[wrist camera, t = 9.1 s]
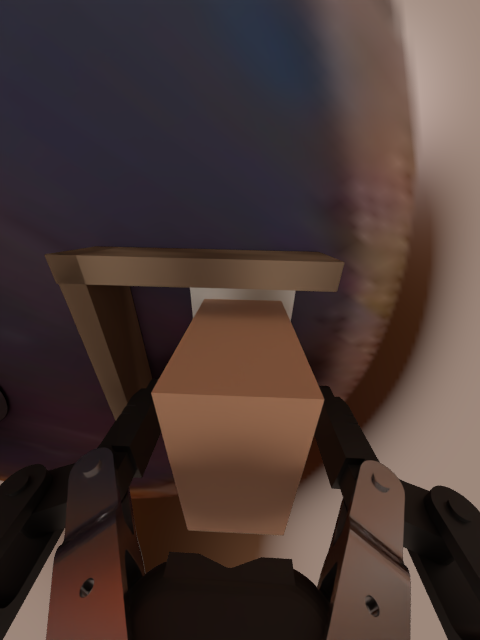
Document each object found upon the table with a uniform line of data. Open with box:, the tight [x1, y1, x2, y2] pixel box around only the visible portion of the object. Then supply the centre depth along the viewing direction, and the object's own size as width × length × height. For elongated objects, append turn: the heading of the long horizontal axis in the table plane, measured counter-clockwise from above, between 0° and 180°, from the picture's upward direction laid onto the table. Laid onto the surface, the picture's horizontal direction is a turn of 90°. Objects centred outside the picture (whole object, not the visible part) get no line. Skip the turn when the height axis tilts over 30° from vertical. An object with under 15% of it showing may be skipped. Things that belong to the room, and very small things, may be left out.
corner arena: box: [45, 246, 344, 421], centre depth 12 cm, size 12×13×3 cm
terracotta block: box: [151, 299, 325, 535], centre depth 10 cm, size 9×4×7 cm, turn 179°
